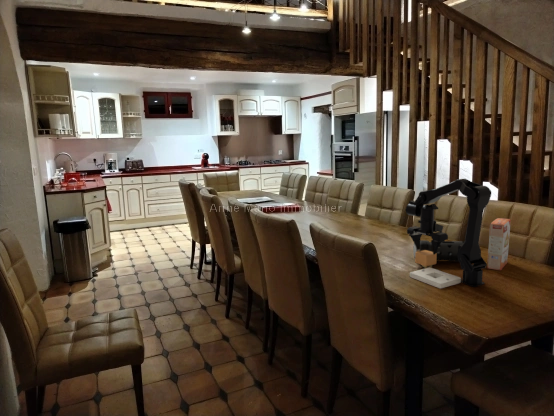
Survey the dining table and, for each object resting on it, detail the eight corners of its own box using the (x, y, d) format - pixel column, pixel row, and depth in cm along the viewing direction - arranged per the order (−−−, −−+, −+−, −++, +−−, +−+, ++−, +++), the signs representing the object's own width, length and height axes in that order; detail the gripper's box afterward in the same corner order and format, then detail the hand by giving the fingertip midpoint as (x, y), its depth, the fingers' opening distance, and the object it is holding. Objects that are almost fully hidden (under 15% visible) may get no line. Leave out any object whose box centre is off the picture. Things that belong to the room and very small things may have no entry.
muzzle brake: (479, 265, 178) (481, 243, 176) (416, 264, 183) (416, 243, 181) (473, 259, 187) (474, 238, 185) (412, 258, 192) (413, 238, 190)
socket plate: (461, 282, 158) (461, 277, 157) (440, 288, 153) (440, 283, 152) (429, 271, 172) (429, 266, 172) (409, 276, 167) (409, 271, 166)
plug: (436, 268, 176) (436, 253, 175) (426, 270, 173) (426, 255, 172) (425, 264, 182) (425, 249, 181) (415, 266, 179) (415, 252, 178)
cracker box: (502, 271, 169) (504, 224, 165) (486, 268, 173) (489, 223, 169) (508, 262, 179) (511, 218, 176) (494, 260, 183) (496, 217, 179)
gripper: (457, 219, 169) (456, 253, 172) (423, 213, 185) (423, 244, 188) (439, 222, 164) (438, 258, 167) (406, 216, 181) (405, 248, 183)
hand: (426, 251), depth 176 cm, fingers open, 9 cm apart
